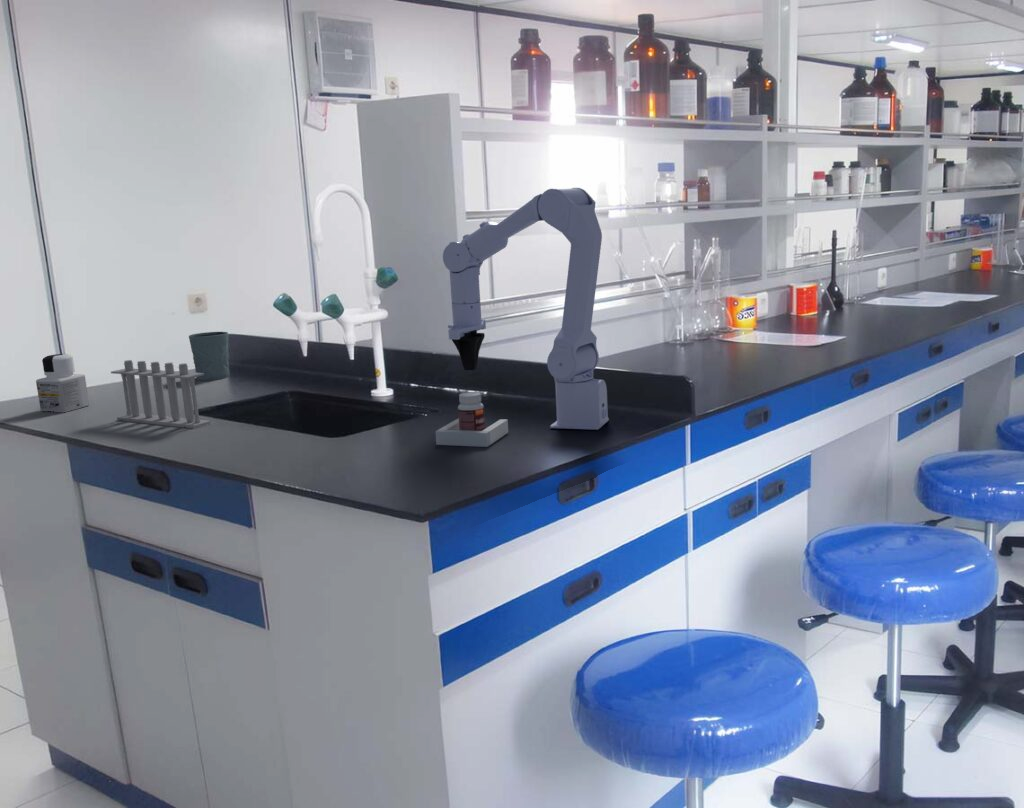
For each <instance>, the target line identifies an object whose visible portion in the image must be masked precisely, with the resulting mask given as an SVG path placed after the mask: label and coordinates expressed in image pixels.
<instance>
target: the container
mask: <svg viewBox="0 0 1024 808" xmlns="http://www.w3.org/2000/svg"><path fill="white" fill-rule="evenodd" d="M73 357H74V356H72V354H70V353H69V354H68V353H59V354H51V355H47V356H45V357H43V358H42V361H41V362H42V369H43V373H44V376H45V377H41V378H37V379H36V380H35V383H36V390H37V396H38V402H39V408H40V412H42V411H54V412H53V413H64V412H65V413H67V412H71V410H72V411H75V410H79V409H82V408H85V407H89V406H90V400H89V394H88V393H89V392H88V387H87V381H86V374H81V373H75V372H76V371H75V364H74V358H73Z"/></svg>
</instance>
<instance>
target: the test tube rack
mask: <svg viewBox="0 0 1024 808" xmlns="http://www.w3.org/2000/svg"><path fill="white" fill-rule="evenodd" d="M132 360H133V359H128V360H124V363H123V365H124V368H121V369H117V370H113V371H110V374H113V375H114V374H116V375H118V374H119V375H120V376H121V380H122V386H123V393H124V400H125V407H126V414H124V415H119V416H117V417H116V418H117V421H120V420H123V422H129V421H132V422H131V423H138V424H139V423H140V424H148V425H150V424H151V425H156V426H165V427H166V426H167V427H176V428H184V427H186V428H185V429H193V428H195V429H198V428H201V427H200V426H202V427H204V426H203V425H205V426H207V425H206V424H209V425H211V424H210V423H211V420H205V419H200V416H199V408H198V407H199V406H198V400H197V394H196V392H197V391H196V385H195V382H196V381H195V380H196V378H197V377H198V376H202V375H204V373H196V372H192V371H191V372H189V366H188V363H187V362H186V363H185V362H184V363H179V364H178V370H179V371H176V370H175V368H174V364H173V363H174V362H166V363H164V370H162V369H161V367H160V366H161V364H160V362H159V361H152V362H150V367H151V369H148V367H147V363H146V360H140V361H137V364H136V366H137V368H134V362H133V361H132ZM135 376H138V378H139V385H140V392H141V393H140V394H141V399H142V405H143V406H142V407H143V413H140V405H139V398H138V392H137V384H136V383H137V382H136V377H135ZM149 377H152V382H153V383H152V384H153V391H154V397H155V403H156V405H155V406H156V410H157V411H156V412H157V414H153V413H154V412H153V406H152V405H153V404H152V398H151V390H150V383H149V382H150V381H149ZM162 378H166V379H165V380H166V384H167V385H166V386H167V392H168V400H169V409H170V414H171V415H170V416H168V415H167V410H166V403H165V402H166V401H165V395H164V389H163V387H164V386H163V380H162ZM176 379H180V386H181V393H182V401H183V409H184V415H185V417H180V416H181V413H180V406H179V398H178V397H179V396H178V391H177V390H178V389H177V381H176ZM197 427H198V428H197Z"/></svg>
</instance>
